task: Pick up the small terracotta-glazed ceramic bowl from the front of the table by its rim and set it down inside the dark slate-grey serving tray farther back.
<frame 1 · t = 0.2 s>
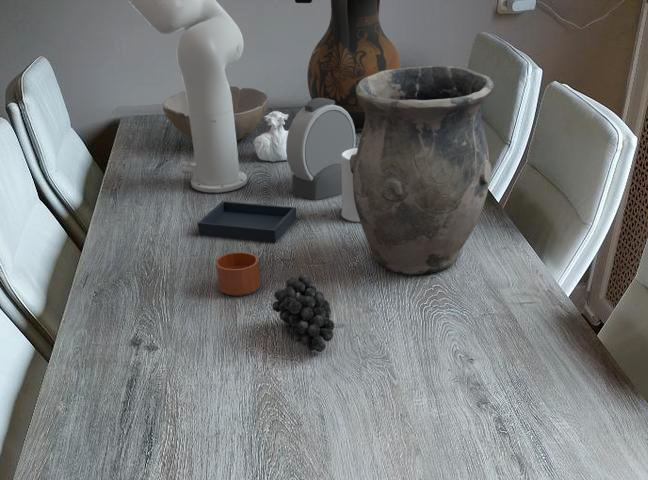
bowl: (220, 141, 205), on the table
small bowl: (240, 288, 138), on the table
mug: (370, 215, 163), on the table
vase: (354, 124, 213), on the table
alarm clock: (323, 189, 175), on the table
clay pot: (416, 259, 145), on the table
fruit: (306, 340, 124), on the table
bust: (279, 158, 192), on the table
tray: (248, 226, 159), on the table
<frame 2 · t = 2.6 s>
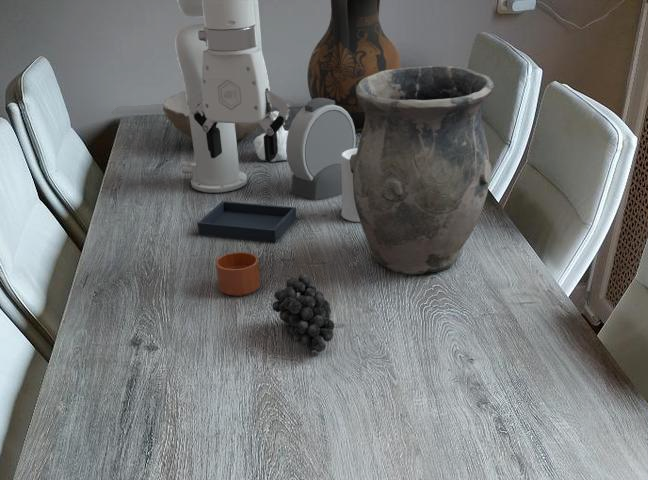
hand: (243, 157, 130), 20 cm above the table, tool pointing down, fingers open, 9 cm apart
nothing on the table moved.
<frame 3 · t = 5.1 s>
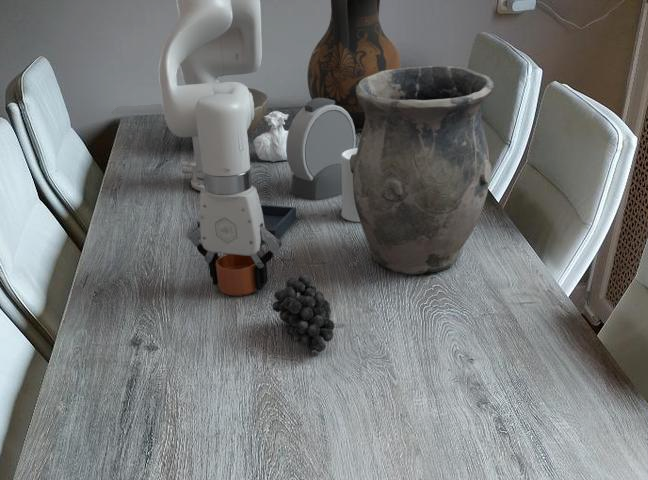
hand: (239, 283, 138), 1 cm above the table, tool pointing down, fingers closed on small bowl, 7 cm apart
small bowl: (240, 288, 138), on the table, touching gripper
everything else where it was.
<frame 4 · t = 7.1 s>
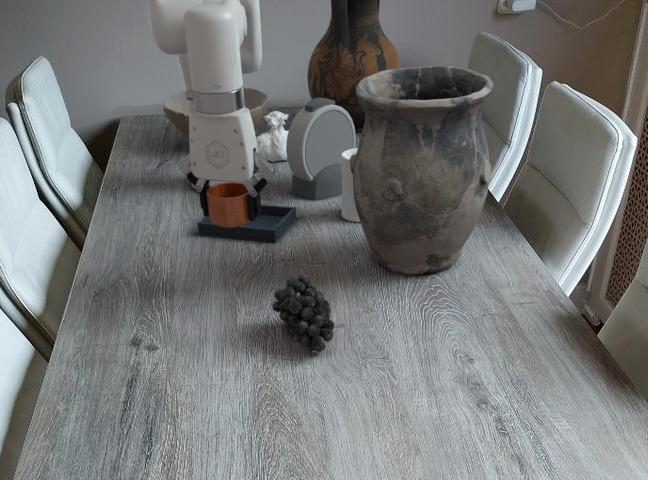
hand: (231, 215, 131), 13 cm above the table, tool pointing down, fingers closed on small bowl, 7 cm apart
small bowl: (232, 220, 131), point 12 cm above the table, touching gripper
everything else where it was.
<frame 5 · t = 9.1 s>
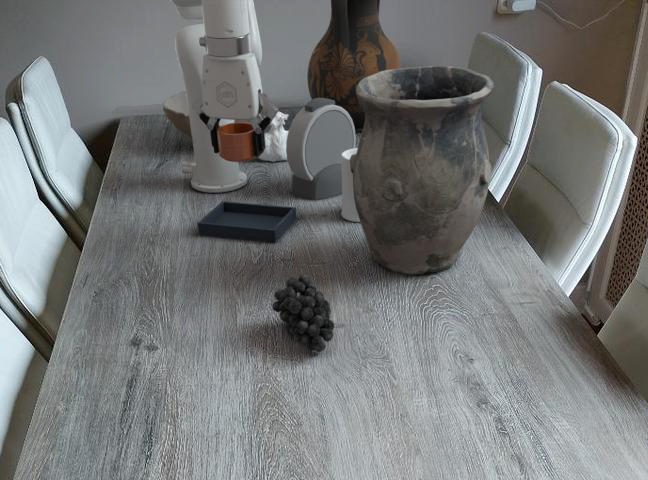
hand: (239, 151, 147), 15 cm above the table, tool pointing down, fingers closed on small bowl, 7 cm apart
small bowl: (239, 156, 148), point 15 cm above the table, touching gripper
everything else where it was.
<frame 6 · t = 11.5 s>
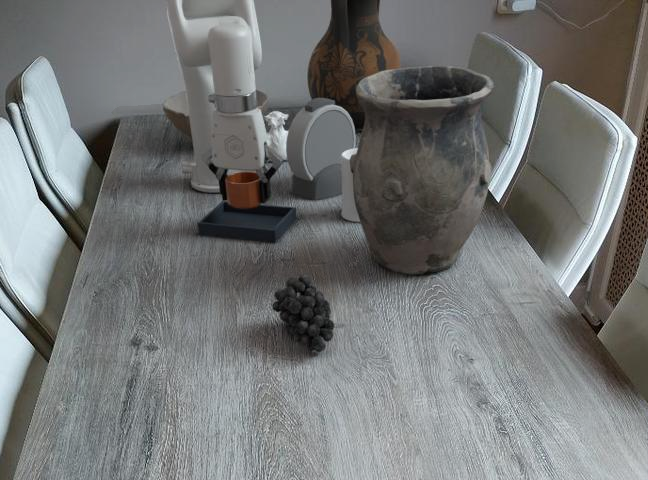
hand: (246, 199, 156), 6 cm above the table, tool pointing down, fingers closed on small bowl, 7 cm apart
small bowl: (246, 203, 156), point 5 cm above the table, touching gripper
everything else where it was.
when the fingers open (1 cm above the table, at t = 13.2 s): small bowl stays where it is, resting on tray.
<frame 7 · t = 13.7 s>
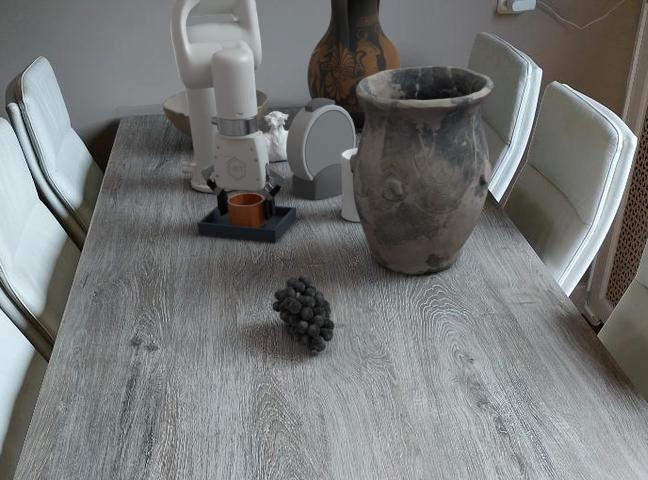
hand: (247, 215, 158), 2 cm above the table, tool pointing down, fingers open, 9 cm apart
small bowl: (248, 224, 159), point 1 cm above the table, touching tray
everything else where it was.
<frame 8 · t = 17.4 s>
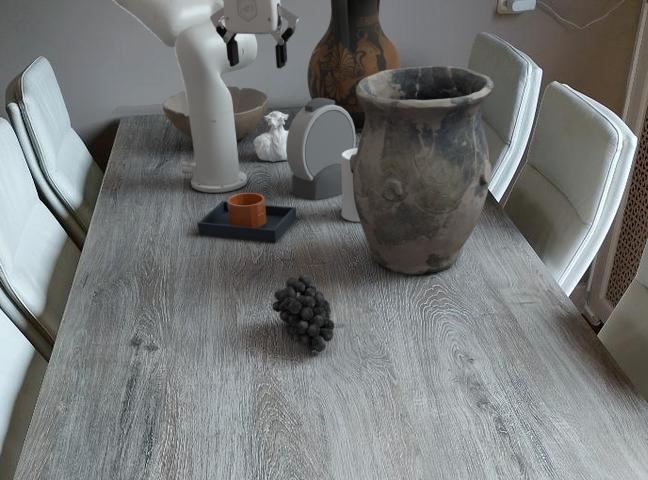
hand: (257, 65, 153), 26 cm above the table, tool pointing down, fingers open, 9 cm apart
nothing on the table moved.
at the end: small bowl inside the target area in the tray (0.2 cm from its centre), point 0.6 cm above the tray's base; small bowl tilted 0°; the gripper is holding nothing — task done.
